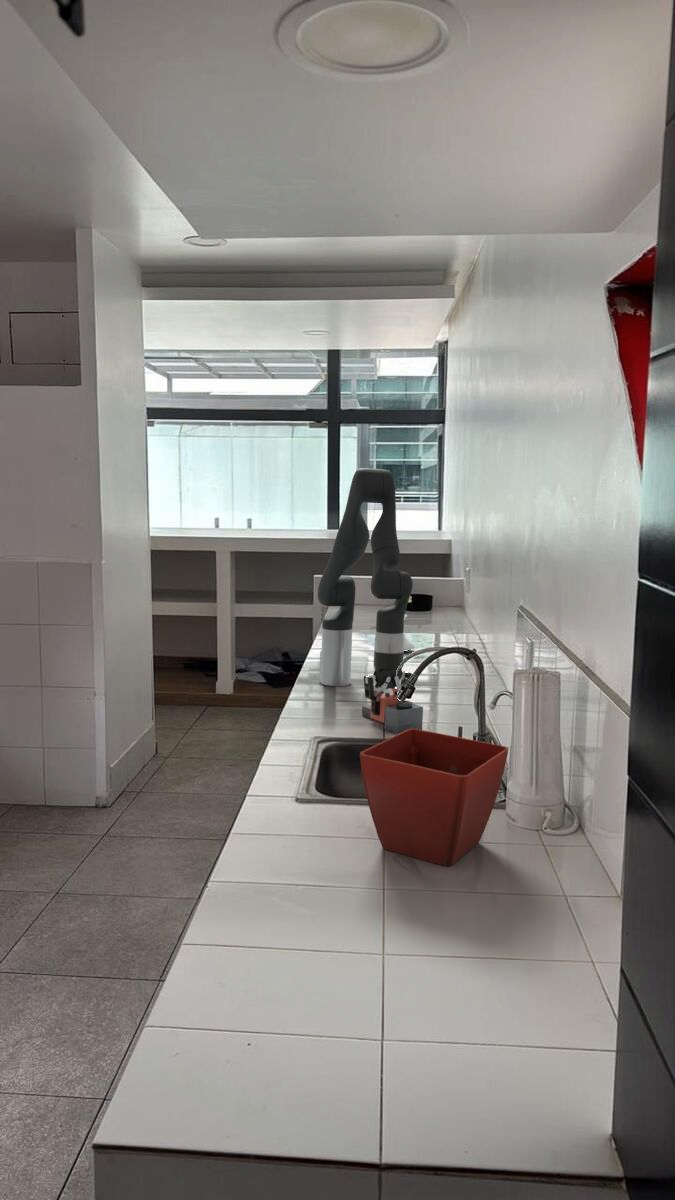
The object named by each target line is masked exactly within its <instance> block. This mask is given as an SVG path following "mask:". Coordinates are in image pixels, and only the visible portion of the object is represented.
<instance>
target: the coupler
mask: <svg viewBox="0 0 675 1200" xmlns="http://www.w3.org/2000/svg"><path fill="white" fill-rule="evenodd" d="M361 708H362V709H361V715H362V716H363V717H366V718H368V719H371V720H373V721H376V722H379V723H381V724H383V725H384V730H385V731H388V732H390V733H393V734H395V735H397V734H399V733H401V732H403V731H405V730H408V729H419V730H423V720H424V719H423V718H424V717H423V715H424V713H423V712H424V706H422V705H419V704H416V703H413V702H412V701H410V700H404V701H397V703H396V705H389V706H386V708H385V723H383V722H380V721H378V720H375V719H373V718H370V709H371V705H370V704H367V705H362V706H361Z"/></svg>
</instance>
